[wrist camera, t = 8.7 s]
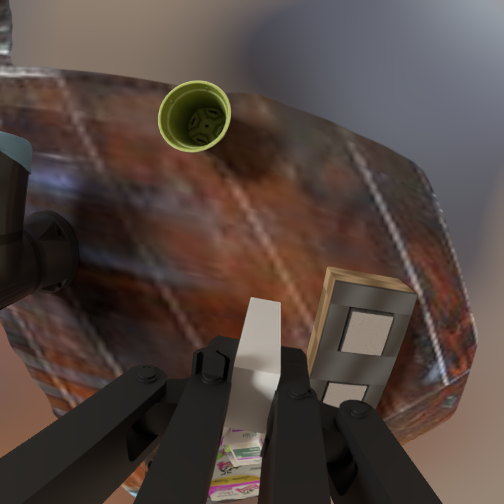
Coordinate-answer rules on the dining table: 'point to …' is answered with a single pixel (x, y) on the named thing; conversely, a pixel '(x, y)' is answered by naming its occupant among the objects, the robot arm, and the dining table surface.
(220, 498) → the candy bar box
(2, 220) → the robot arm
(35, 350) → the dining table surface
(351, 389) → the seated peg
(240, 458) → the syrup box
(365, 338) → the peg
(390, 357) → the socket block
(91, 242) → the dining table surface
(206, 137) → the plant pot
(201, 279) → the dining table surface
